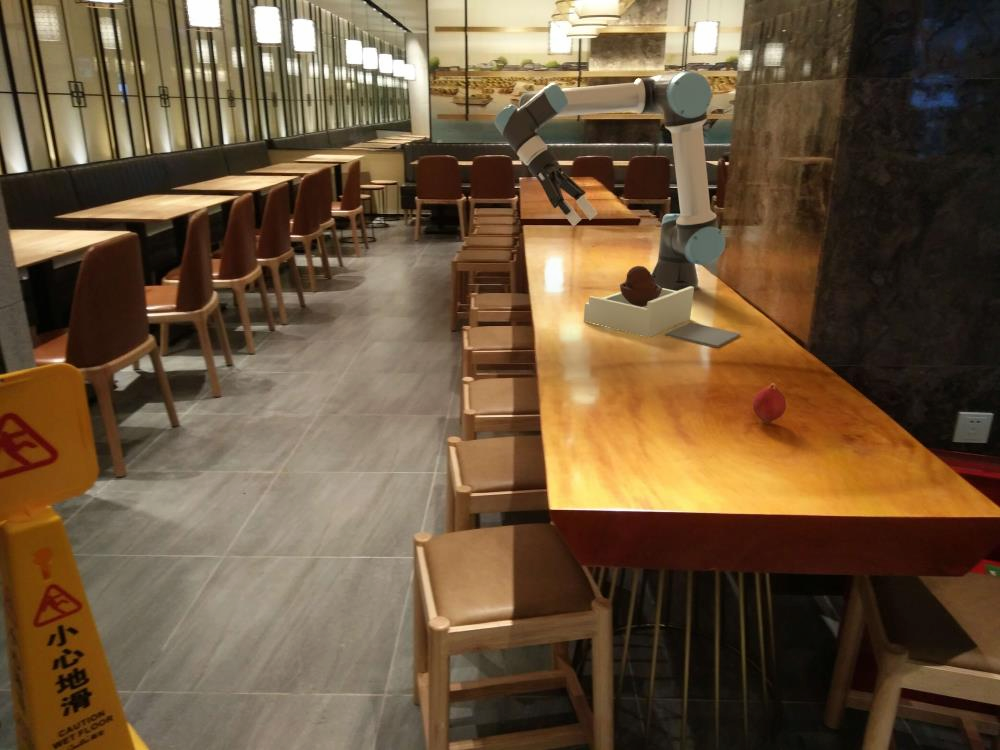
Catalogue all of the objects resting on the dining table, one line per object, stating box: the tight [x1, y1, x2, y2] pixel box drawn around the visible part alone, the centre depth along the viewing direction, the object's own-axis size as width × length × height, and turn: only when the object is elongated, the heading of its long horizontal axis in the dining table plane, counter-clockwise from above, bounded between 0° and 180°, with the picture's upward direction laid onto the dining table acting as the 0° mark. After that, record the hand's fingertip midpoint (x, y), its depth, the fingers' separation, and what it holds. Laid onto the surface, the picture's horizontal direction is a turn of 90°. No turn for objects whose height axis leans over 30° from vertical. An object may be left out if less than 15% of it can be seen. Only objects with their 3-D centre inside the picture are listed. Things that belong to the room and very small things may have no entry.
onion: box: [752, 383, 787, 424], centre depth 137 cm, size 6×6×8 cm
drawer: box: [583, 286, 695, 338], centre depth 199 cm, size 23×19×9 cm
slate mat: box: [664, 322, 741, 349], centre depth 189 cm, size 14×14×1 cm
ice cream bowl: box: [619, 265, 662, 307], centre depth 198 cm, size 11×11×15 cm
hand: (585, 219), depth 199 cm, fingers open, 13 cm apart
